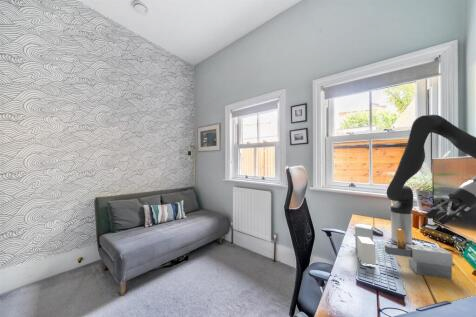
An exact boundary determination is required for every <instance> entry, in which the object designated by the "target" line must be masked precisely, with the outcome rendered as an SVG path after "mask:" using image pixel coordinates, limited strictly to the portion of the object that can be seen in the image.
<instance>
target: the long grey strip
mask: <svg viewBox="0 0 476 317" xmlns="http://www.w3.org/2000/svg"><path fill="white" fill-rule="evenodd" d="M384 252H385V253H387V255H393V256H398V257H399V256H400V257H406V258H407V257H408V258H409V257H412V250H411V249H410V248H409V247H406V244H405V230H404V229H397V242H396V245H391V244H384Z"/></svg>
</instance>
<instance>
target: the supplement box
mask: <svg viewBox="0 0 476 317" xmlns="http://www.w3.org/2000/svg"><path fill="white" fill-rule="evenodd" d="M354 234H355V235H354V237H355V240H354V241H355V250H356V251H358V244H357V236H360V237H368V238H370V239H371V240H372V241H373V242H374V228H373V225H369V224H363V223H356V224H355V226H354Z"/></svg>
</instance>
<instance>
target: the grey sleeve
mask: <svg viewBox="0 0 476 317" xmlns="http://www.w3.org/2000/svg"><path fill="white" fill-rule="evenodd" d="M405 247H409V248H410V249H411V250H412V257H408V267H409V268H410V269H411V270H412V271H413V272H414V273H415V274H417V275H422V276H427V277H432V278H433V277H434V278H441V279H446V280H453V270H452V268H453V267H454V265H453V264H454V262H453V260H454V259H453V258H454V257H453V256H454V255H453V253H452V252H450V251H448V250H446V249H445V248H441V247H432V246H425V245H417V244H405Z"/></svg>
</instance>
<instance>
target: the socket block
mask: <svg viewBox="0 0 476 317" xmlns="http://www.w3.org/2000/svg"><path fill="white" fill-rule="evenodd" d="M357 244H358V250H357V259H358V258H359V259H360V260H361V262H362V263H366V264H372V265H376V266H377V264H376V260H377V258H376V244H375V242H374V240H373V241H372V240H371V239H370V238H368V237H360V236H357ZM359 259H358V260H359ZM360 260H359V261H360ZM361 262H360V263H361Z"/></svg>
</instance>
